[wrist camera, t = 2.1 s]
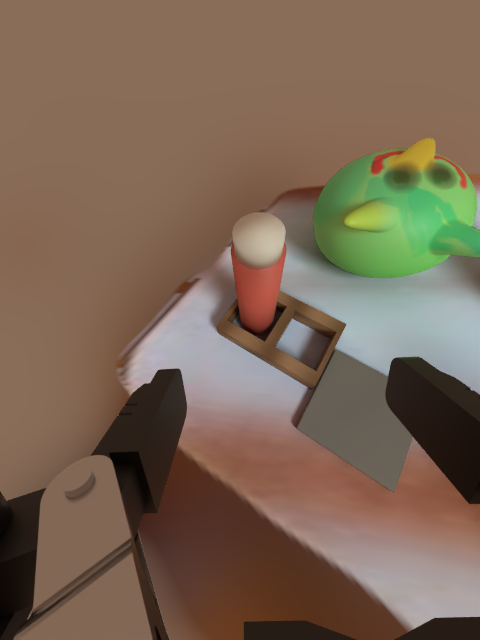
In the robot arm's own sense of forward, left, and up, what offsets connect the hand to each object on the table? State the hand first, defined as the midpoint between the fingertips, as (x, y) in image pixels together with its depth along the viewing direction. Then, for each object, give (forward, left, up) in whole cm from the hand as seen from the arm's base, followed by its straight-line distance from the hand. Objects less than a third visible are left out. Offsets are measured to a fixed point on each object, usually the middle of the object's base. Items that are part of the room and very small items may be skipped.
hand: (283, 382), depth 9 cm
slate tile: (-6, +10, -21) cm, 24 cm away
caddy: (-10, -3, -21) cm, 23 cm away
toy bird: (-28, +2, -21) cm, 35 cm away
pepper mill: (-10, -7, -21) cm, 24 cm away
